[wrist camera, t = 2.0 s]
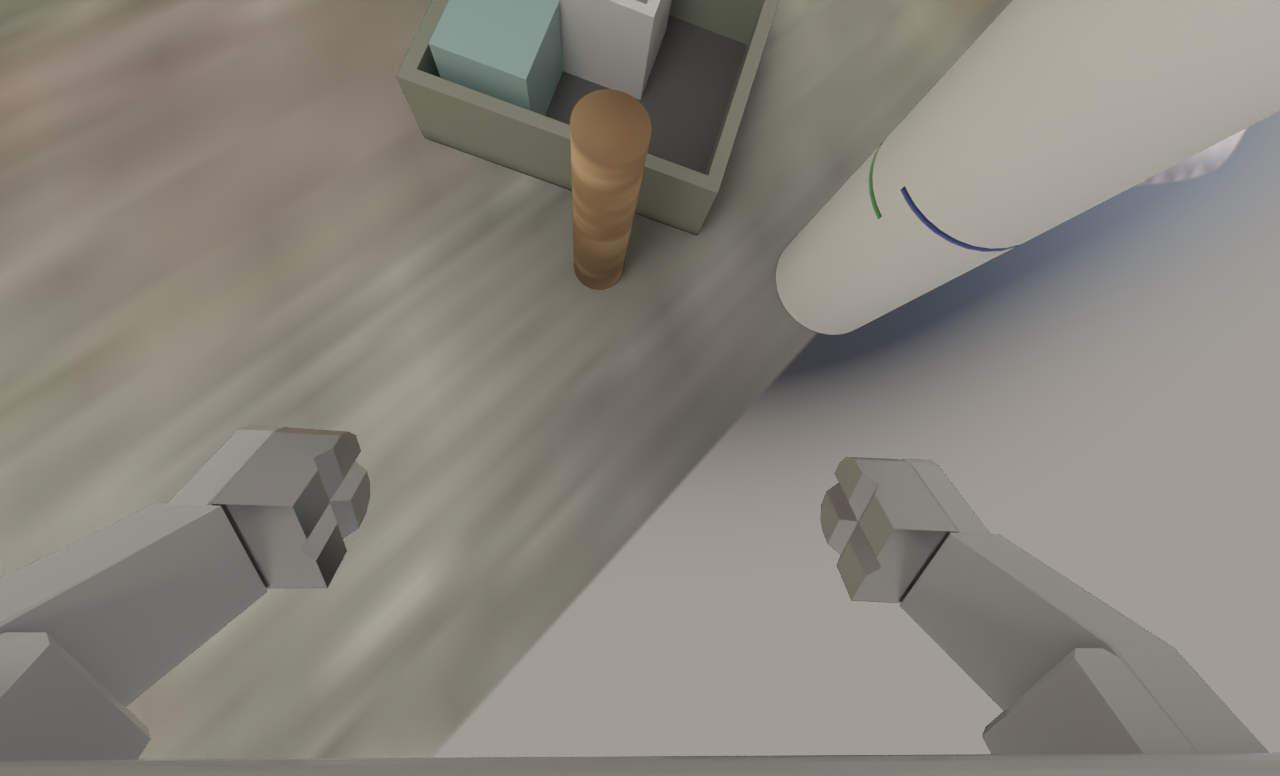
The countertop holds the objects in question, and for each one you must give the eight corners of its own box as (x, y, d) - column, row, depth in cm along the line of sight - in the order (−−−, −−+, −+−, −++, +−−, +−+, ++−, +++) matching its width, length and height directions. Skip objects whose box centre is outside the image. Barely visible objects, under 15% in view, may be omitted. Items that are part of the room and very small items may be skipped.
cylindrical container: (817, 355, 32) (1591, -24, 7) (754, 263, 33) (1286, -373, 8) (900, 300, 33) (1790, -176, 9) (838, 212, 34) (1516, -467, 9)
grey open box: (424, 137, 31) (381, 44, 24) (507, -44, 34) (489, -174, 27) (697, 235, 32) (728, 171, 26) (755, 51, 35) (798, -50, 28)
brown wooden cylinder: (567, 279, 31) (558, 146, 18) (583, 237, 31) (585, 77, 19) (614, 295, 31) (637, 174, 18) (628, 253, 32) (661, 106, 19)
